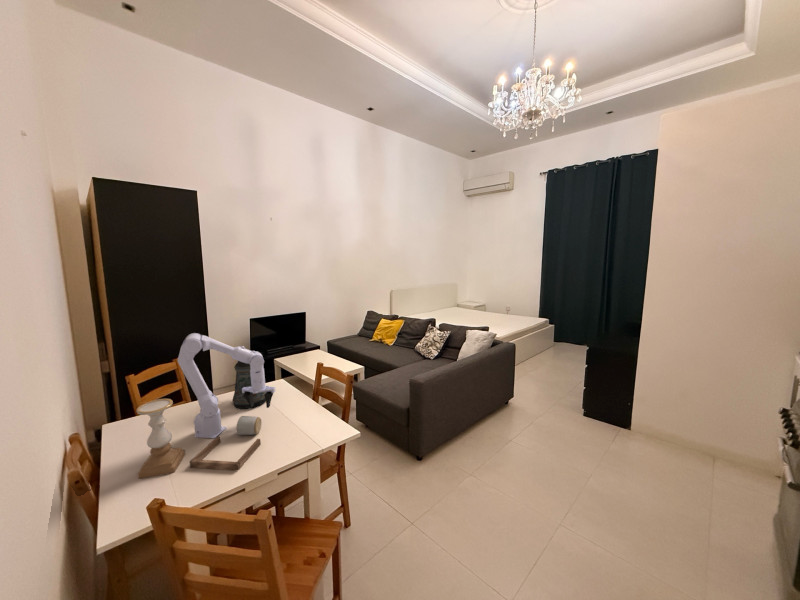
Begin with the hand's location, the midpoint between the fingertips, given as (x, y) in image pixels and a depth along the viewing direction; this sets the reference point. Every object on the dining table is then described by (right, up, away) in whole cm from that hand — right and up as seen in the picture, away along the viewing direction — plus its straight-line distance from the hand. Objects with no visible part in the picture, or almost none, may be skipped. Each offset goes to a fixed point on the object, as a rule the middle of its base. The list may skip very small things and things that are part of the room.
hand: (260, 406), depth 143 cm
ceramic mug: (-1, -9, -7) cm, 11 cm away
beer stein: (-15, -4, +19) cm, 24 cm away
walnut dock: (-2, -11, -23) cm, 25 cm away
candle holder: (-23, -12, -29) cm, 38 cm away
